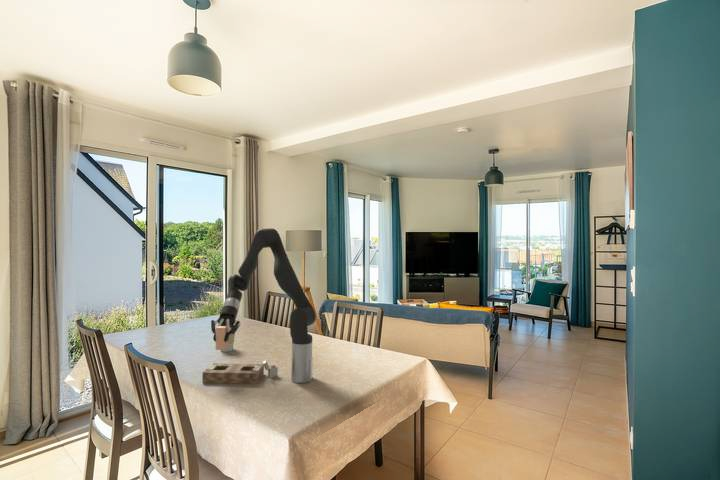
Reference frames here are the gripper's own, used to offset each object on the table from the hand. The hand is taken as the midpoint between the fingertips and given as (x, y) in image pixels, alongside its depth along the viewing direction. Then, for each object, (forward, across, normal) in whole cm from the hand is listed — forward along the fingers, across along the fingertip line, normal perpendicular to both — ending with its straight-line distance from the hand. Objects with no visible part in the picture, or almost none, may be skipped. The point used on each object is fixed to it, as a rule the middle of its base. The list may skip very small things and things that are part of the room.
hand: (220, 340), depth 167 cm
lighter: (+10, +22, +15) cm, 29 cm away
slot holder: (+11, +6, +14) cm, 19 cm away
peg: (+2, 0, +4) cm, 5 cm away
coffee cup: (-18, -13, +44) cm, 49 cm away
